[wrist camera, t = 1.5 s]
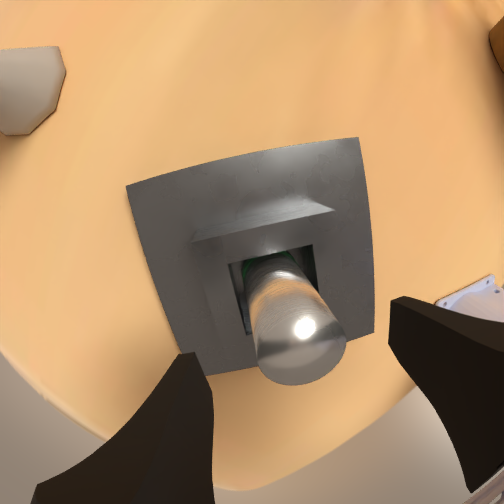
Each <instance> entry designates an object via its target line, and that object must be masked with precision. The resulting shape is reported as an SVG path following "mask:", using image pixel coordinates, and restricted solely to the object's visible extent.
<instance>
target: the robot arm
mask: <svg viewBox="0 0 504 504" xmlns="http://www.w3.org/2000/svg"><path fill="white" fill-rule="evenodd" d="M494 280H495V276H494V275H493V274H491V275H489V276H487V277H485V278H483V279H481V280H479V281H478V282H476V283H474V284H472V285H470V286H468V287H466V288H464V289H462V290H460V291H458V292H455V293H453V294H451V295H449V296H447V297H445V298H443V299H440V300H439V301H437V302H436V304H435V305H433V304H430V303H427V302H424V301H421V300H418V299H414V298H411V297H406V296H402V297H399V298H397V299H394V300H391V303H390V325H389V339H388V344H389V346H390V348H391V349H392V351H393V353H394V355H395V356H396V358H397V360H398V361H399V363H400V364H401V366H402V367H403V368H404V369H405V371H406V372H407V373H408V375H409V376H410V377H411V378H412V380H413V381H414V382H415V383H416V385H417V386H418V387H419V388H420V390H421V391H422V392H423V393H424V394H425V396H426V397H427V398H428V400H429V401H430V403H431V404H432V406H433V407H434V409H435V410H436V412H437V414H438V416H439V417H440V419H441V421H442V423H443V424H444V427H445V429H446V431H447V433H448V435H449V437H450V439H451V441H452V443H453V446H454V448H455V451H456V453H457V456H458V458H459V461H460V465H461V467H462V471H463V474H464V478H465V482H466V486H467V488H468V490H469V491H470V493H473V492H474V491H475V490H477V489H478V488H479V487H480V486H482V485H483V484H484V483H485V482H487V481H488V480H489V479H490V478H491V477H493V476H494V475H495V474H496V473H497V472H498V471H499V470H500V469H501V468H503V467H504V289H503V288H501V287H499V286H497V285H496V284H494ZM213 428H214V408H213V397H212V390H211V388H210V386H209V384H208V381H207V379H206V377H205V375H204V372H203V370H202V368H201V365H200V363H199V361H198V358H197V356H196V353H195V352H191V353H185V354H179V355H178V356H177V357H176V359H175V360H174V361H173V363H172V364H171V366H170V367H169V369H168V370H167V372H166V373H165V375H164V376H163V377H162V379H161V380H160V382H159V383H158V385H157V386H156V387H155V389H154V390H153V392H152V393H151V394H150V396H149V397H148V398H147V399H146V401H145V402H144V403H143V404H142V405H141V407H140V408H139V409H138V410H137V412H136V413H135V414H134V415H133V416H132V418H131V419H130V420H129V421H128V422H127V423H126V424H125V425H124V426H123V427H122V428H121V429H120V430H119V431H118V432H117V433H116V434H115V435H114V436H113V437H112V438H111V439H110V440H108V441H107V442H106V443H105V444H104V445H102V446H101V447H100V448H99V449H97V450H96V451H95V452H94V453H93V454H91V455H90V456H89V457H87V458H86V459H84V460H83V461H81V462H80V463H78V464H77V465H75V466H73V467H72V468H70V469H68V470H67V471H65V472H63V473H61V474H59V475H57V476H55V477H53V478H51V479H49V480H47V481H44V482H42V483H40V484H37V487H36V489H35V492H34V495H33V498H32V501H31V504H215V501H214V492H213V482H212V450H213ZM501 492H502V496H501V499H500V500H499V501H497V502H496V503H495V504H504V471H502V472H501V473H500V474H499V475H498V476H497V477H496V478H495V479H494V480H492V481H491V482H490V483H489V484H488V485H487V486H485V487H484V488H483V489H482V490H480V491H479V492H478V493H476V494H475V495H474V496H473V497H471V498H470V499H469V500H467V501H466V502H464V503H463V504H489V503H490V502H491V501H492V500H494V499H495V498H496V497H497V496H498V495H499V494H500V493H501Z"/></svg>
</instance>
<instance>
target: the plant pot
mask: <svg viewBox="0 0 504 504" xmlns="http://www.w3.org/2000/svg"><path fill="white" fill-rule="evenodd" d="M489 37H490V43H491V47H492V49H493V52H494V55H495V57H496V59H497V62H498V64H499V66H500V67H501V69H502V71H503V73H504V16H503V18H502V19H501V20H500V21H499V22H498V23H497V24H496V25H495V26H494V27H493V29H492V30H491V31H490V34H489Z"/></svg>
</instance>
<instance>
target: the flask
mask: <svg viewBox="0 0 504 504" xmlns="http://www.w3.org/2000/svg"><path fill="white" fill-rule="evenodd" d="M65 73H66V69H65V66H64V63H63V60H62V56H61V53H60V50H59V47H58V46H47V47H30V48H15V49H3V50H0V131H1V132H2V133H3V134H5V135H6V136H8V135H22V134H30V133H31V132H32V131H33V130H34V129H35V128H36V127H37V126H38V125H39V124H40V123H41V122H42V121H43V120H44V119H45V118H46V117H47V116H48V115H50V114H51V113H52V112H53V111H54V110H55V109H56V105H57V101H58V98H59V94H60V90H61V87H62V83H63V80H64V76H65Z"/></svg>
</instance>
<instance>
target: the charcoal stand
mask: <svg viewBox="0 0 504 504" xmlns="http://www.w3.org/2000/svg"><path fill="white" fill-rule="evenodd" d="M126 190H127V194H128V198H129V202H130V205H131V209H132V213H133V217H134V220H135V224H136V227H137V231H138V234H139V237H140V241H141V244H142V247H143V251H144V254H145V257H146V260H147V263H148V266H149V269H150V272H151V275H152V278H153V281H154V284H155V286H156V289H157V292H158V295H159V297H160V300H161V303H162V306H163V308H164V311H165V313H166V316H167V319H168V321H169V324H170V326H171V329H172V331H173V333H174V336H175V338H176V341H177V343H178V345H179V348H180V350H181V352H182V354H185V353H191V352H195V353H196V356H197V358H198V361H199V363H200V365H201V368H202V370H203V372H204V375H205V376H208V375H214V374H219V373H225V372H231V371H236V370H241V369H246V368H251V367H255V366H259V365H258V360H257V354H256V349H255V343H254V338H253V332H252V326H251V320H250V315H249V309H248V303H247V297H246V292H245V289H244V285H243V279H242V269H243V266H244V263H245V261H246V260H247V259H250V258H255V257H259V256H263V255H267V254H272V253H276V252H280V251H285V250H286V251H287V252H288V253H290V254H291V256H292V257H293V258H294V259H295V261H296V262H297V264H298V265H299V267H300V269H301V270H302V272H303V273H304V275H305V276H306V277H307V279H308V280H309V281H310V283H311V284H312V285H313V287H314V288H315V290H316V291H317V292H318V294H319V295H320V297H321V298H322V299H323V301H324V302H325V304H326V305H327V306H328V308H329V309H330V311H331V312H332V313H333V315H334V316H335V318H336V319H337V320H338V322H339V323H340V325H341V326H342V327H343V329H344V331H345V335H346V342H348V341H351V340H354V339H357V338H360V337H363V336H366V335H368V334H371V333H374V314H375V294H374V261H373V244H372V231H371V220H370V210H369V202H368V193H367V186H366V179H365V172H364V166H363V160H362V154H361V148H360V143H359V138H358V137H355V138H345V139H336V140H328V141H320V142H313V143H306V144H299V145H293V146H287V147H281V148H275V149H269V150H264V151H259V152H253V153H248V154H244V155H239V156H234V157H230V158H225V159H221V160H216V161H212V162H208V163H204V164H200V165H196V166H192V167H188V168H185V169H181V170H177V171H174V172H170V173H166V174H163V175H160V176H156V177H153V178H150V179H146V180H143V181H140V182H137V183H134V184H131V185H127V186H126Z"/></svg>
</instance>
